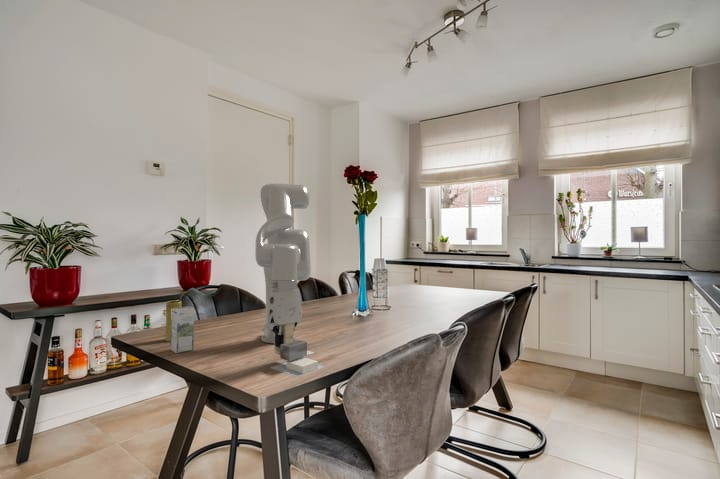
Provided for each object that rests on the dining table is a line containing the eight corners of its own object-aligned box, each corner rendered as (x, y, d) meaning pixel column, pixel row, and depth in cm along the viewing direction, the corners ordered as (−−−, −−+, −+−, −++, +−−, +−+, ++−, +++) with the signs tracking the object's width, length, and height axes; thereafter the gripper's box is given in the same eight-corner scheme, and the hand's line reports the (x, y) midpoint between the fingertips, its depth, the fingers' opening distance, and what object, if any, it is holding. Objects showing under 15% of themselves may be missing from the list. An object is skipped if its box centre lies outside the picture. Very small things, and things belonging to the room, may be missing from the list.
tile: (286, 361, 112) (303, 366, 108) (301, 356, 117) (318, 361, 113) (286, 368, 112) (303, 374, 108) (301, 363, 117) (318, 368, 113)
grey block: (269, 354, 116) (269, 321, 116) (287, 349, 122) (287, 318, 122) (289, 361, 111) (289, 326, 111) (307, 355, 116) (307, 322, 116)
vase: (160, 340, 143) (161, 302, 143) (174, 336, 149) (174, 299, 148) (173, 342, 141) (173, 303, 141) (186, 338, 146) (186, 301, 146)
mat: (269, 368, 113) (269, 367, 113) (297, 359, 122) (297, 358, 122) (297, 378, 106) (297, 376, 106) (325, 367, 114) (325, 366, 114)
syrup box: (187, 347, 135) (187, 305, 135) (194, 350, 131) (194, 307, 131) (170, 350, 131) (170, 307, 131) (176, 354, 127) (176, 310, 127)
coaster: (286, 354, 127) (286, 352, 127) (299, 350, 132) (299, 348, 132) (300, 358, 123) (300, 356, 123) (314, 354, 128) (314, 352, 128)
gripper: (271, 289, 109) (270, 354, 109) (312, 284, 122) (311, 342, 122) (254, 287, 113) (254, 349, 113) (296, 282, 126) (295, 338, 126)
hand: (284, 345), depth 118 cm, fingers closed on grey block, 3 cm apart
